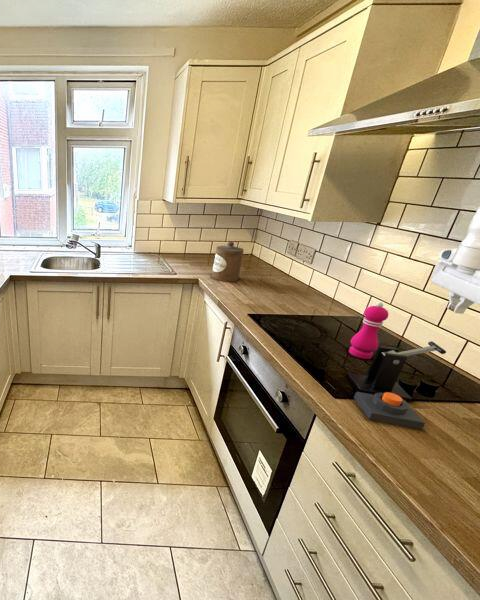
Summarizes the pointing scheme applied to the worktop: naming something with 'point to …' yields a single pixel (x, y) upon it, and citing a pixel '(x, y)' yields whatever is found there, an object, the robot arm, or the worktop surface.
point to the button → (392, 399)
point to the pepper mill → (368, 332)
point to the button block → (388, 411)
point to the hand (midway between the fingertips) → (454, 311)
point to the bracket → (382, 374)
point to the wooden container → (227, 262)
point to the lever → (418, 350)
